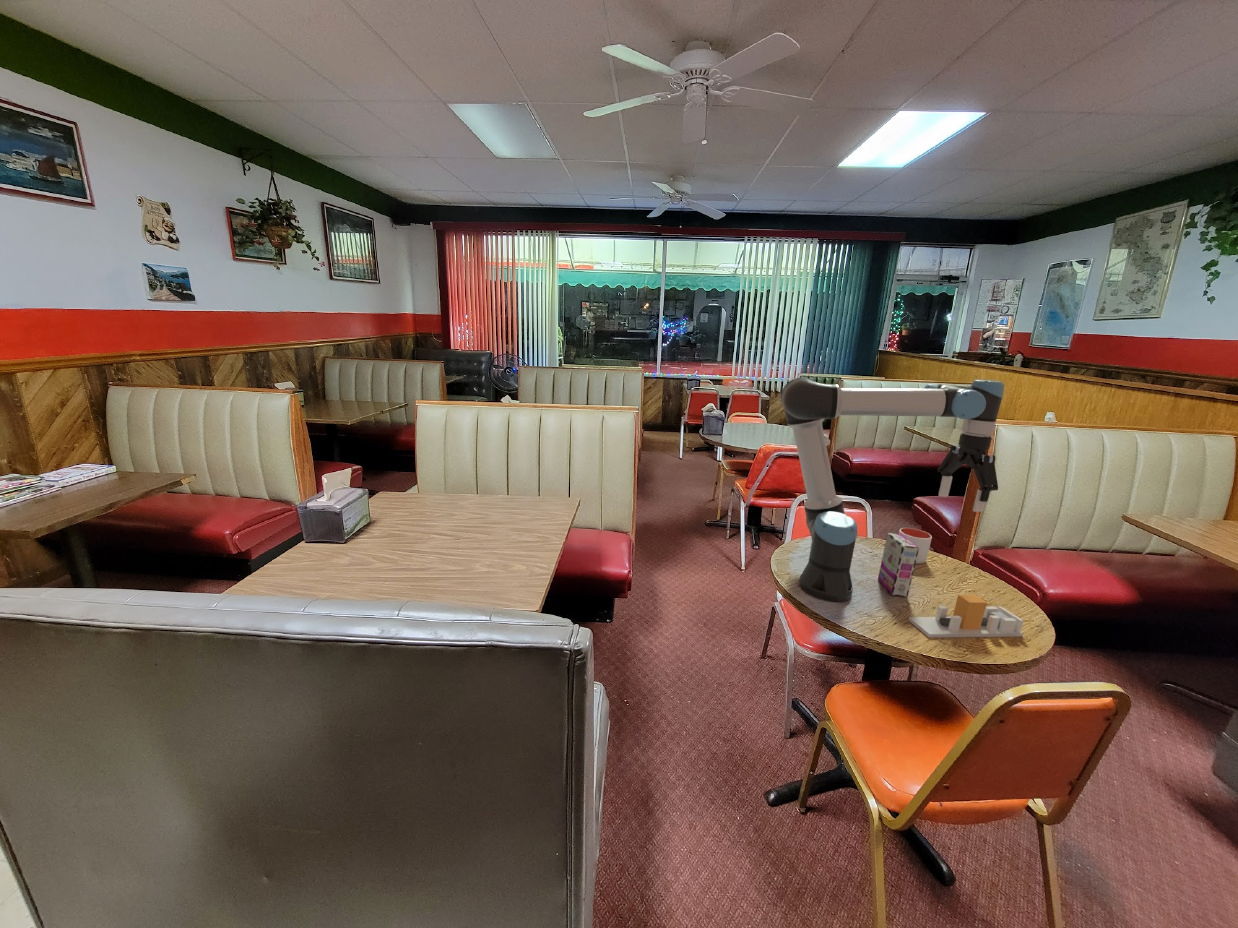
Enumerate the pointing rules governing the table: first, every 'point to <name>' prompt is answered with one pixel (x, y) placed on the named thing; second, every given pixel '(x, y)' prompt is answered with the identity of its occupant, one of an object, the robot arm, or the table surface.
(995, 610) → the clip rail
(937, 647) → the table surface
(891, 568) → the candy bar box
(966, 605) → the orange block with rod
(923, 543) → the cup
